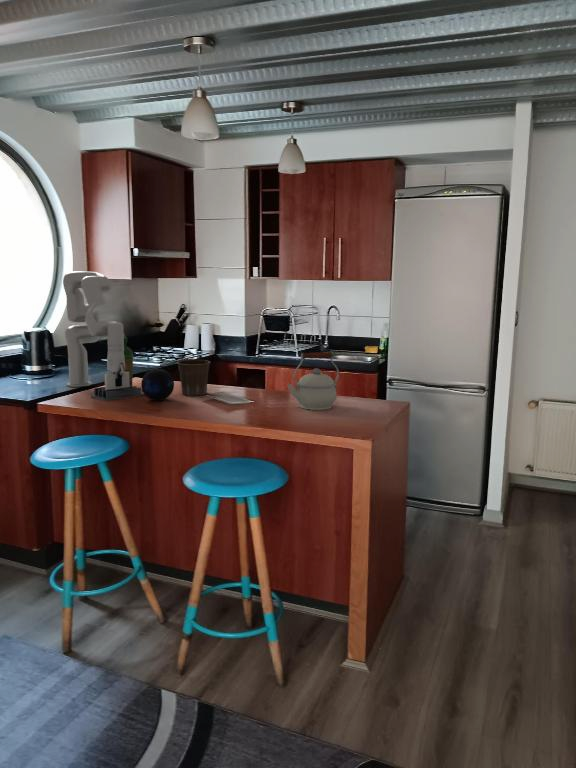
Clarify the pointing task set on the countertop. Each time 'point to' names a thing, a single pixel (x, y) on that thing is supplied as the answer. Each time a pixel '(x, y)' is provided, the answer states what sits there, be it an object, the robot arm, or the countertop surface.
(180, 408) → the countertop surface
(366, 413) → the countertop surface
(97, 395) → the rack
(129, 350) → the bottle
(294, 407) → the countertop surface
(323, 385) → the kettle
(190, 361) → the plant pot
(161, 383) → the decorative sphere
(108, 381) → the small white box
